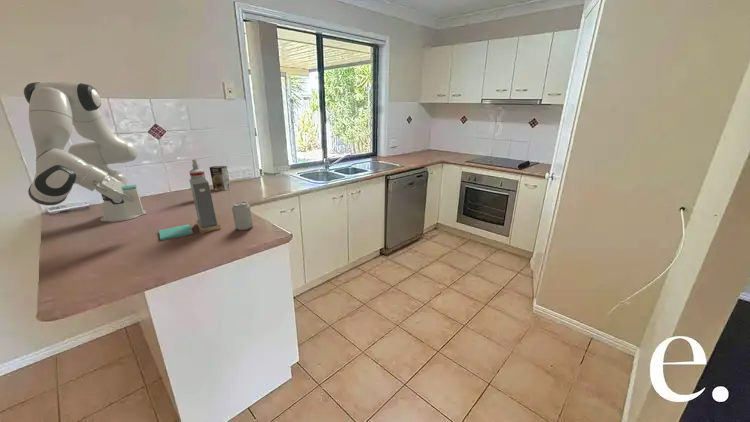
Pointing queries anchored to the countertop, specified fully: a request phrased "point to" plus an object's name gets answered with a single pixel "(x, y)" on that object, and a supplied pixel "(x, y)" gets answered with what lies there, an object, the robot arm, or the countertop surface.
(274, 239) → the countertop surface
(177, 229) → the pad
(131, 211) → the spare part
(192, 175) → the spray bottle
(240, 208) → the can
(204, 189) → the mounted unit
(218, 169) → the coffee box
